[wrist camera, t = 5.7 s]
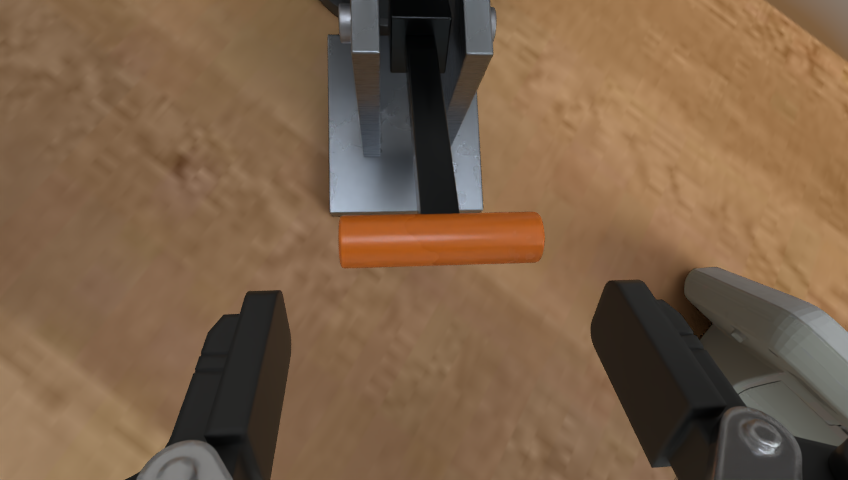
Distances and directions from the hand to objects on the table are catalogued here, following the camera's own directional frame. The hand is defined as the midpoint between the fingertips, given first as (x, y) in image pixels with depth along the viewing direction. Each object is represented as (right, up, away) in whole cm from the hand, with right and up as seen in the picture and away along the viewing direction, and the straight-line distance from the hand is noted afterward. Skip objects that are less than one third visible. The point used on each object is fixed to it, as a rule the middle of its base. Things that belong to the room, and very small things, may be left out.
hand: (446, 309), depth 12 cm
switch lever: (-1, +6, +5) cm, 8 cm away
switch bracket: (-2, +9, +18) cm, 20 cm away
